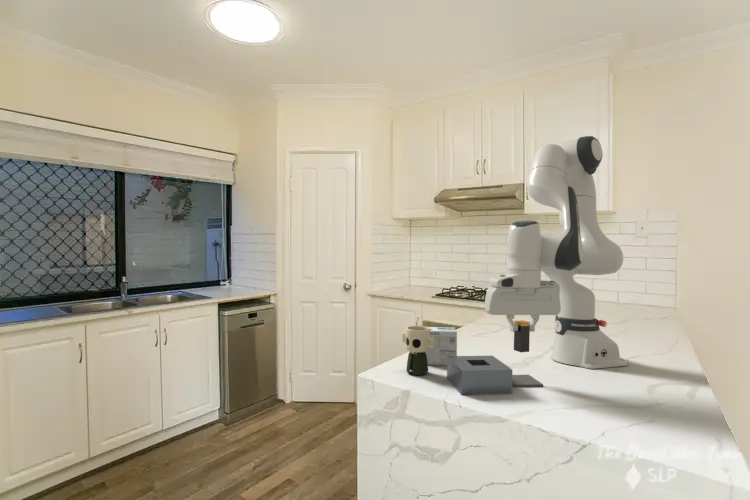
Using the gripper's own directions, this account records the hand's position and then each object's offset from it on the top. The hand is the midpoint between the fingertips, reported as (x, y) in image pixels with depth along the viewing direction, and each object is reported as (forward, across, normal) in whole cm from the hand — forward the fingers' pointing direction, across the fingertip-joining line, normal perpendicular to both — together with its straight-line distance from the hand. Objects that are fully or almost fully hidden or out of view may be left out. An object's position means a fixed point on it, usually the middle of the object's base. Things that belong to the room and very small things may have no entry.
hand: (522, 331), depth 111 cm
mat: (+14, 0, 0) cm, 14 cm away
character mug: (+14, +27, -9) cm, 32 cm away
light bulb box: (+14, +18, -19) cm, 30 cm away
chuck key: (+5, 0, 0) cm, 5 cm away
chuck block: (+14, +13, -1) cm, 19 cm away
